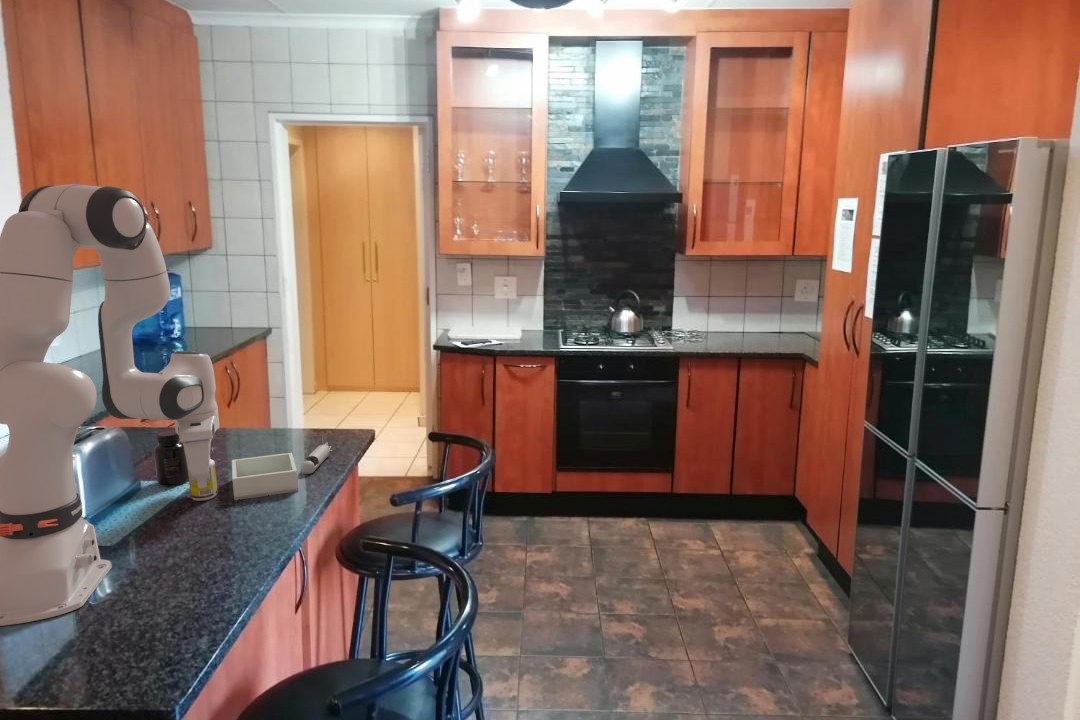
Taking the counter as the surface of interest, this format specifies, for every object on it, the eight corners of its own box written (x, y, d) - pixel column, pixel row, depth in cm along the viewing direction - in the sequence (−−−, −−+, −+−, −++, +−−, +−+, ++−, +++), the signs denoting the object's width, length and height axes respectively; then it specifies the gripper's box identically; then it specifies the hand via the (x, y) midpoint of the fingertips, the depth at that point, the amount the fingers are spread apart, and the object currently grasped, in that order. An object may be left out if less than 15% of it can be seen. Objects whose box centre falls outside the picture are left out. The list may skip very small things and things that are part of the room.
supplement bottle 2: (204, 490, 169) (199, 448, 167) (223, 494, 167) (219, 451, 165) (185, 499, 164) (180, 456, 162) (204, 503, 162) (200, 459, 160)
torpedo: (316, 476, 178) (314, 451, 177) (296, 476, 178) (294, 451, 177) (337, 452, 196) (335, 428, 195) (319, 452, 196) (317, 428, 195)
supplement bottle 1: (195, 477, 177) (190, 429, 175) (179, 487, 171) (173, 438, 168) (168, 476, 178) (163, 428, 176) (151, 486, 171) (145, 437, 169)
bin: (298, 491, 168) (296, 470, 167) (234, 500, 163) (232, 479, 162) (293, 472, 181) (292, 452, 180) (233, 479, 176) (231, 459, 175)
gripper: (183, 411, 170) (189, 468, 173) (178, 436, 151) (185, 499, 154) (213, 409, 172) (218, 464, 175) (211, 433, 154) (217, 495, 157)
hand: (203, 481), depth 165 cm, fingers closed on supplement bottle 2, 6 cm apart
